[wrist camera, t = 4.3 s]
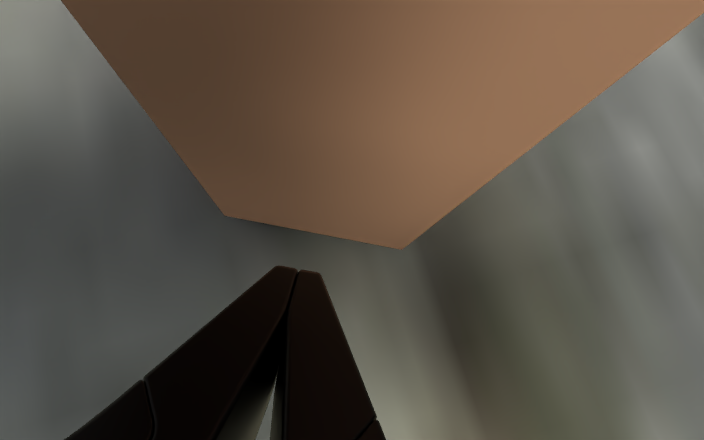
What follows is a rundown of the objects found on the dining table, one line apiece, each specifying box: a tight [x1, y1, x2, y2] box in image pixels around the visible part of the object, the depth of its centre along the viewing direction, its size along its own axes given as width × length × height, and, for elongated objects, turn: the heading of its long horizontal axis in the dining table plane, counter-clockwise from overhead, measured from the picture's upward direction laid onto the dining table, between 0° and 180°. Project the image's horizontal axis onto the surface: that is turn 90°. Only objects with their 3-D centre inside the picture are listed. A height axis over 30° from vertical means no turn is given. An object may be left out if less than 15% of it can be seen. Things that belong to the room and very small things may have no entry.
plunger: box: [61, 0, 704, 250], centre depth 8 cm, size 6×6×14 cm
